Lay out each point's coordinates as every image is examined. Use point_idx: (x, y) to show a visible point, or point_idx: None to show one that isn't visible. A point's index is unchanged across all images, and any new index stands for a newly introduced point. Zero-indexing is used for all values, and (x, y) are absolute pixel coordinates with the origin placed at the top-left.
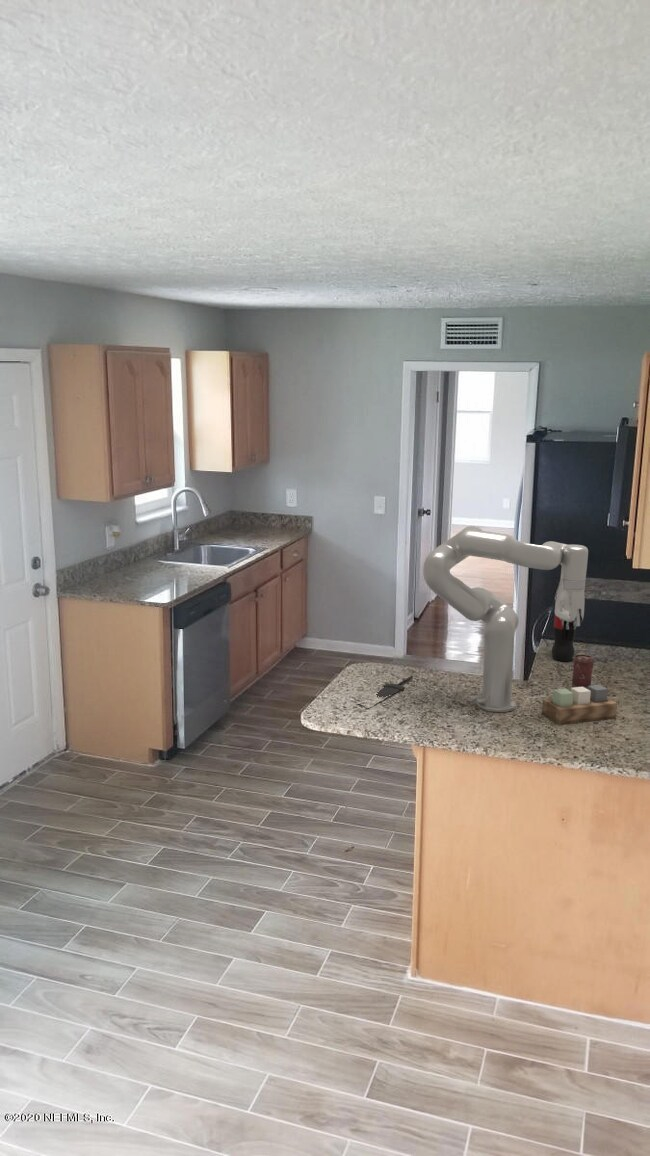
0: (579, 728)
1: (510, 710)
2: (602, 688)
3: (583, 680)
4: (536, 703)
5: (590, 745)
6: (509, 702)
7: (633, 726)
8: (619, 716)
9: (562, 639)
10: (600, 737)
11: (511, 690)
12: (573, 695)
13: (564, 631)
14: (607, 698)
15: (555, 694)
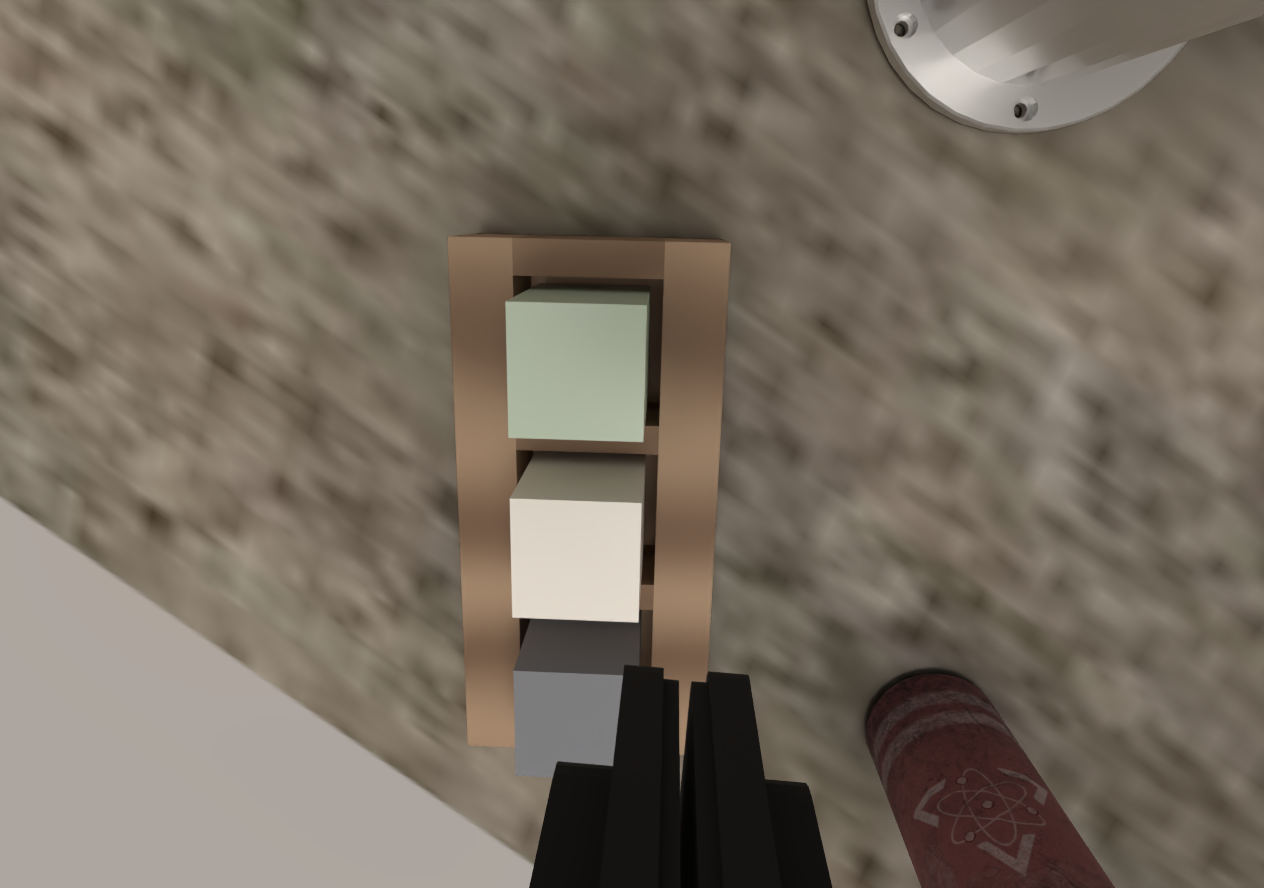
0: (387, 338)
1: (869, 6)
2: (539, 743)
3: (913, 792)
4: (933, 336)
5: (89, 217)
6: (938, 15)
7: (337, 686)
8: None
9: (711, 679)
10: (209, 375)
11: (1003, 24)
12: (596, 482)
13: (636, 846)
14: None
15: (608, 301)
